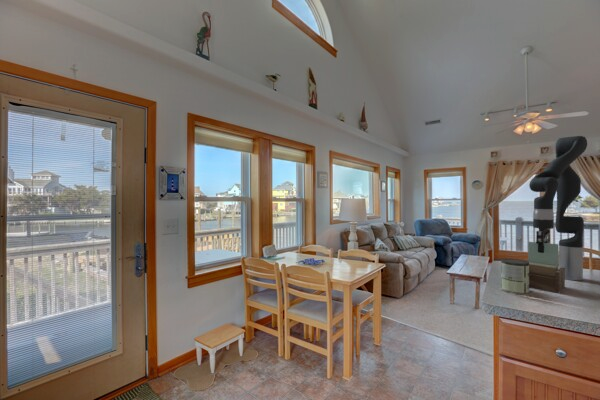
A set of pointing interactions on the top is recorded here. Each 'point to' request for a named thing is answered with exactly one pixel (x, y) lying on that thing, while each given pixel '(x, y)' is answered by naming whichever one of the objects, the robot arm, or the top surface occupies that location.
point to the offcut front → (542, 269)
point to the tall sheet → (543, 254)
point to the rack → (548, 281)
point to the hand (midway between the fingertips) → (543, 251)
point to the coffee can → (515, 276)
